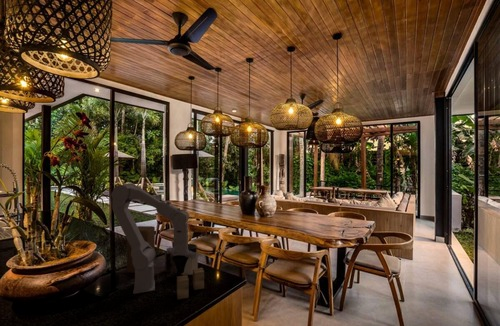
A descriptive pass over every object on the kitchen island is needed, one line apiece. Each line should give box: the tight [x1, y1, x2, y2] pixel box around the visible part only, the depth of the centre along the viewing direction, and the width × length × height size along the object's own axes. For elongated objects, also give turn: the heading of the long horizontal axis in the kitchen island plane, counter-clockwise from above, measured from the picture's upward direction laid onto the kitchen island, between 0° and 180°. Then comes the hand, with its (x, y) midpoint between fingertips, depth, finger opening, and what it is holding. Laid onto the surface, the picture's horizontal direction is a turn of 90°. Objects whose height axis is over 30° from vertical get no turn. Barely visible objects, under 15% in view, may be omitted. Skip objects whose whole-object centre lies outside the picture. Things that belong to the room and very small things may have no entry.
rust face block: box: [192, 267, 205, 291], centre depth 106 cm, size 4×4×7 cm
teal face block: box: [176, 275, 190, 300], centre depth 98 cm, size 4×4×7 cm
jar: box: [181, 243, 199, 276], centre depth 121 cm, size 9×8×12 cm
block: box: [126, 225, 156, 274], centre depth 123 cm, size 10×10×20 cm
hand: (180, 272), depth 105 cm, fingers closed
